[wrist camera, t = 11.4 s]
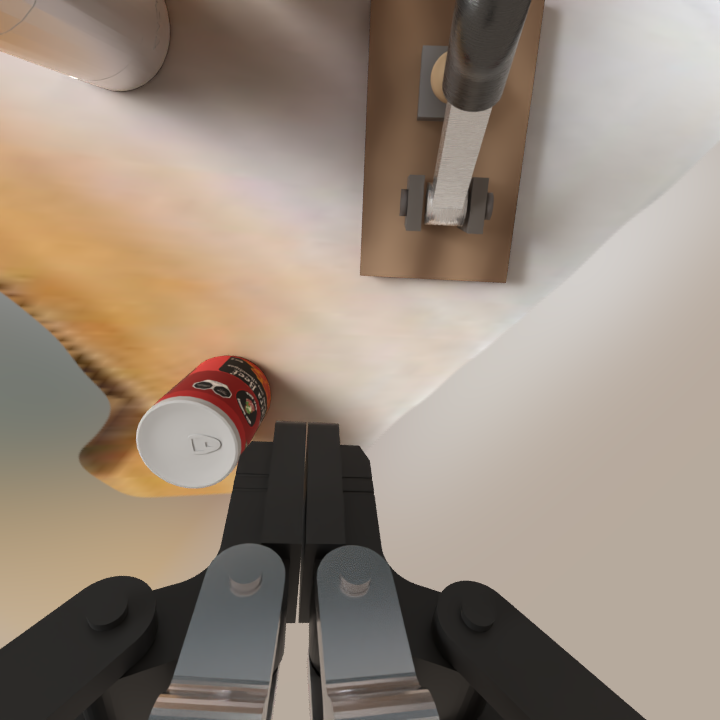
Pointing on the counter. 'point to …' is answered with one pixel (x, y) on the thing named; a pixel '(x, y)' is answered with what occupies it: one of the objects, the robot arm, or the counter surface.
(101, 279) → the counter surface
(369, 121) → the nutcracker bench
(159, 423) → the canned food
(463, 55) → the lever
